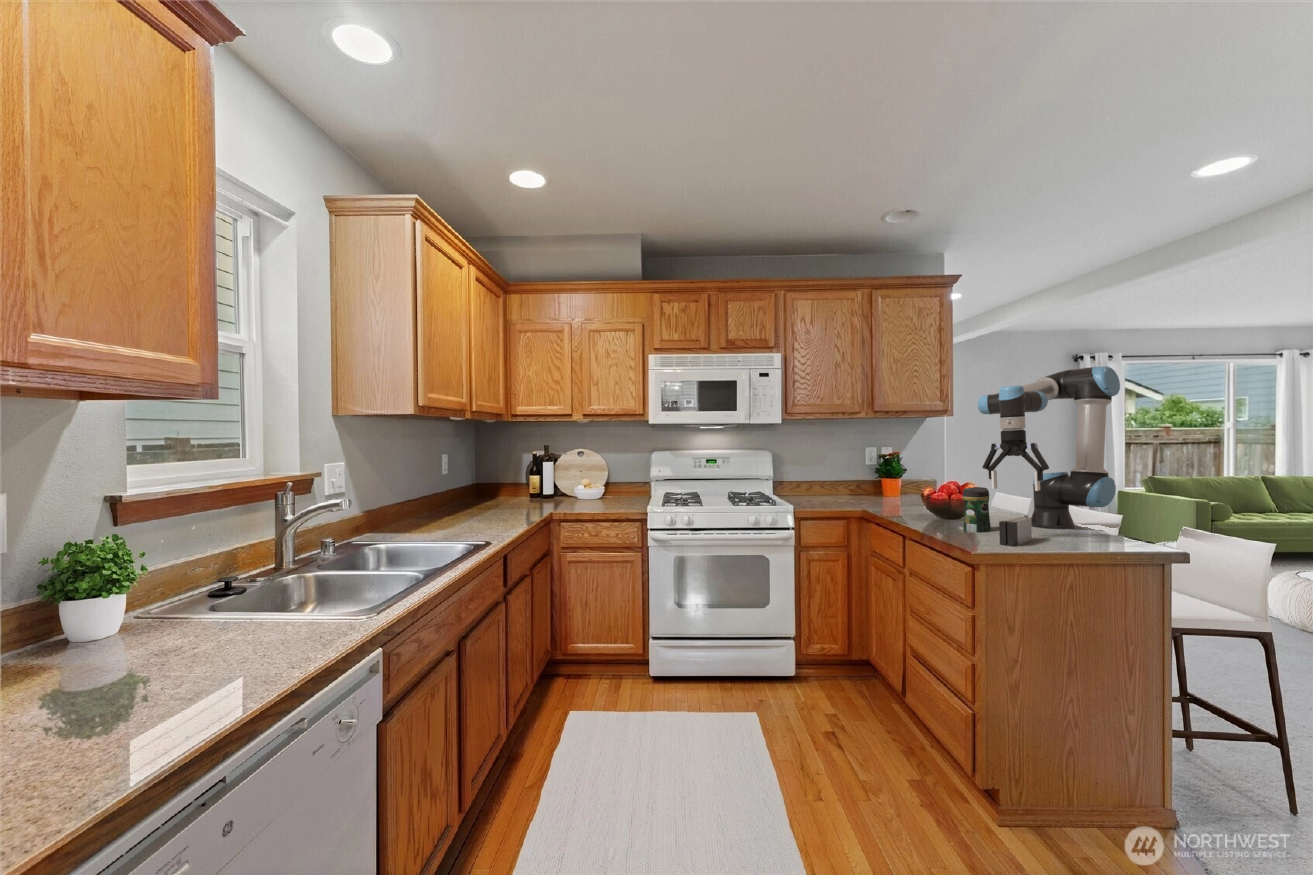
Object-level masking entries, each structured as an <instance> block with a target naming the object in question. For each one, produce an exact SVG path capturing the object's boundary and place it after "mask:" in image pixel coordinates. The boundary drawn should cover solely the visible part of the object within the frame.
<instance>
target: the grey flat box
mask: <svg viewBox="0 0 1313 875" xmlns="http://www.w3.org/2000/svg"><path fill="white" fill-rule="evenodd" d="M1023 517H1024V518H1022V519H1018V520H1014V521H1010V522H1007V540H1008V545H1007V546H1008V547H1017V546H1019V545H1021V544H1024V543H1028V542H1030V541H1033V530H1032V526H1031V517H1029V515H1026V514H1025V515H1023Z"/></svg>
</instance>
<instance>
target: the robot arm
mask: <svg viewBox="0 0 1313 875" xmlns="http://www.w3.org/2000/svg"><path fill="white" fill-rule="evenodd" d="M998 390H999V391H998V392H997V393H995V394H994V393H993V394H986V395H981V396H980V397H979V398H978V400H977V403H976V404H977V408H978V411H979V413H981V414H982V415H999V421H1000V422H999V425H1000V429H1001V431H1000V444H999V443H992V444H991V446H990V451H989V453H988V454H987V457H986V459H985V461H984V462H983V465H982V469H983V470H987V472H988V479H989V480H991V489H992V490H996V489H998V472H997V470H995V469H996V468H997V467H998V466H999V464H1000V463H1001V462H1003V460H1005V458H1006V457H1007V456H1008V457H1012V456H1014V457H1020V456H1021V457H1022V458H1023V459H1025V461H1026V462H1028V463H1029V465H1030V466H1031V467H1032V468H1033V469H1034V470H1035V471H1034V472H1033V475H1034V476H1033V478H1032V479H1033V481H1032V486H1033V511H1032V514H1031V517H1030V518H1031V526H1032V527H1033V528H1040V529H1048V530H1075V529H1076V524H1075V522H1074V520H1073V517H1072V514H1071V513H1070V506H1077V507H1088V508H1106V507H1107V506H1109V505H1110V504H1111V502H1113V500H1114V498H1115V496H1116V492H1117V486H1116V484H1115V482H1116V481H1115V480H1114V479H1113V478H1111V477H1110V476H1109V471H1107V470H1106V469H1105V468H1104V466H1105V443H1106V426H1107V425H1106V423H1107V422H1106V421H1107V406H1108V405H1109V404H1111V403H1112V399H1113V397H1115V396H1118V394H1119V392H1120V390H1121V381H1120V379H1119V376H1118V374H1117V373H1116V371H1115V369H1113V368H1112V367H1110V366H1106V365H1105V366H1104V365H1102V366H1095V365H1094V366H1092V367H1083V368H1075V369H1066V370H1061V371H1058V372H1056V373H1055V372H1054V373H1052V374H1049V375H1046V376H1043V377H1039V378H1038V379H1037V380H1036V381H1035V382H1031V383H1028V384H1024V385H1006V386H1001V387H1000V388H999V389H998ZM1071 399H1073V403H1074V404H1076V405H1077V407H1078V409H1077V426H1076V427H1077V429H1076V430H1077V431H1076V449H1075V450H1076V452H1075V453H1076V454H1075V466H1074V468H1072V469H1071V470H1070V473H1068V471H1061V472H1057V471H1056V472H1047V473H1046V472H1045V473H1044V471H1046V470H1049V469H1050V466H1049V464H1048V463H1047V461H1046V460H1045V458H1044V456H1043V455H1042V454H1041V452H1040V450H1039V447H1038V443H1037V442H1031V443H1027V431H1026V429H1025V428H1026V413H1037V412H1041V411H1044V410H1045V409H1046V407H1047V406H1048V403H1049V401H1052V400H1071ZM999 449H1000V450H1002V451H1001V452H1000V453H999V455H998V456H997V458H995V455H996V453H997V451H998V450H999ZM1027 449H1029V450H1031V452H1032V454H1033V456H1034V457H1035V459H1036V460H1037V461H1036V460H1035V459H1034V458H1033V457H1032V456H1031V455H1030V453H1029V452H1028V451H1026V450H1027ZM994 458H995V460H994ZM993 460H994V461H993ZM1069 474H1070V475H1069Z"/></svg>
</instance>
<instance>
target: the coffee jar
mask: <svg viewBox="0 0 1313 875" xmlns="http://www.w3.org/2000/svg"><path fill="white" fill-rule="evenodd" d="M962 500H963V505H964V506H963V508H964V509H963V512H964V513H963V533H965V534H966V533H976V534H977V533H979V534H981V533H988V532H989V533H990V532H991V531H992V528H991V518H990V508H989V507H990V506H989V505H990V504H989V501H990V492H989V489H988V488H987V487H981V486H973V487H965V488H964V489H963V490H962Z"/></svg>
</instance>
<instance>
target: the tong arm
mask: <svg viewBox="0 0 1313 875" xmlns="http://www.w3.org/2000/svg"><path fill="white" fill-rule="evenodd" d="M1022 518H1024V516H1017V517H1013V518H1009V519H1005V520H999V522H998V526H999V530H998V532H999V545H1000V546H1008V540H1007V522H1010V521H1014V520H1018V519H1022Z"/></svg>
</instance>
